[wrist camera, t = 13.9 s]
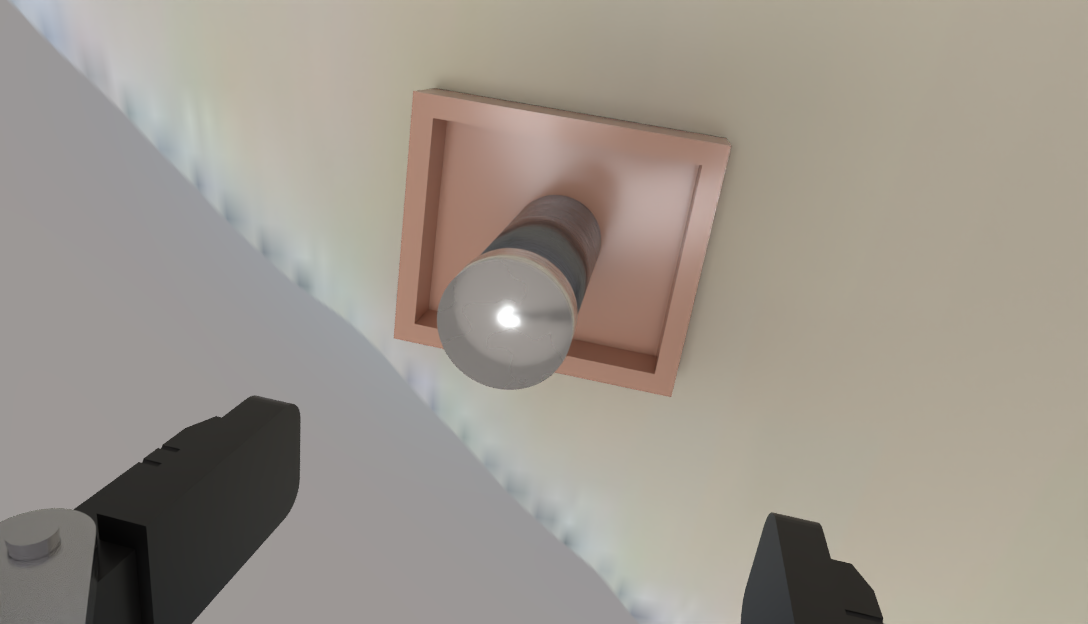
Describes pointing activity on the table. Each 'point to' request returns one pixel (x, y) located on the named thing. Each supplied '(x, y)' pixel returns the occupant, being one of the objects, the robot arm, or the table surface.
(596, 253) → the shaker
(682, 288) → the tray
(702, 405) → the table surface
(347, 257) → the table surface
